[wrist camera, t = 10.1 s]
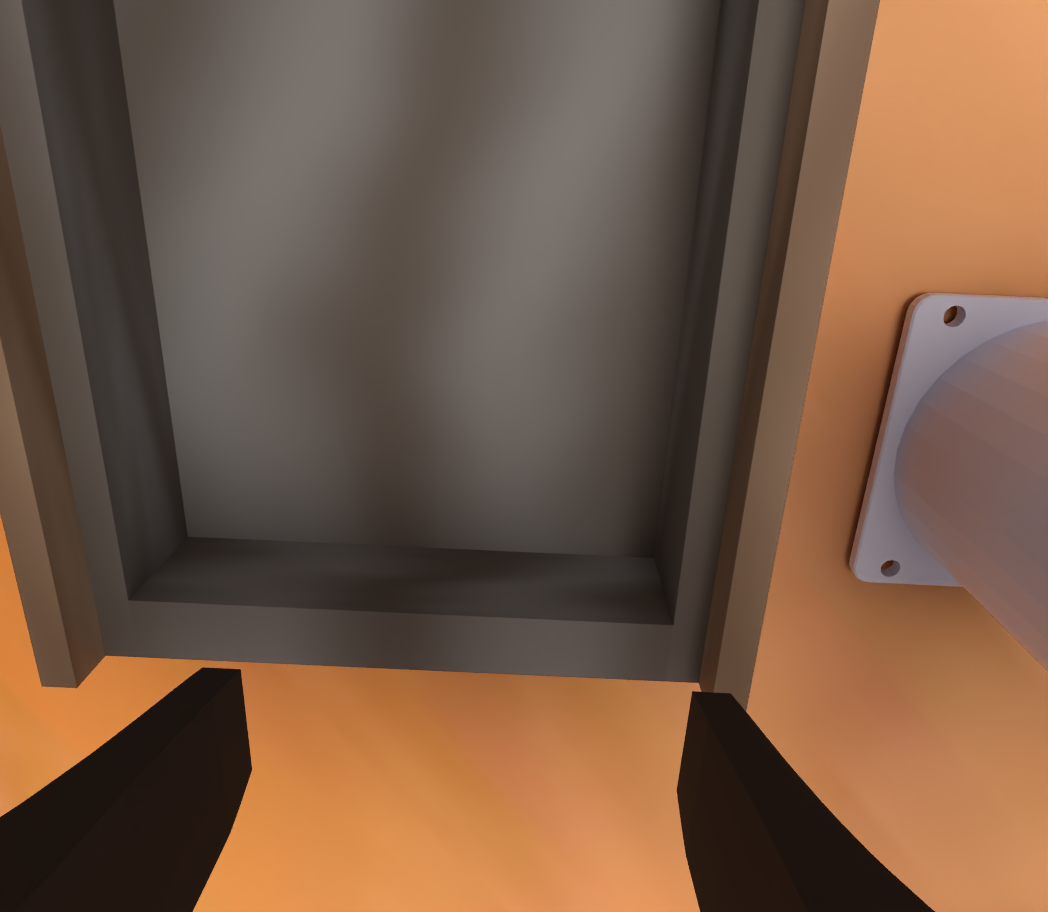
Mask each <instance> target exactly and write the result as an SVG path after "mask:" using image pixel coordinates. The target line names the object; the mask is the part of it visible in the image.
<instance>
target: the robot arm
mask: <svg viewBox="0 0 1048 912" xmlns="http://www.w3.org/2000/svg"><path fill="white" fill-rule="evenodd" d="M952 306H956V308H957V315H956V317H955V319H954V320H953V321H951V322H950V323H947V324H945V323H944V318H943V316H944V314H945V312H946V310H948V309H949V308H950V307H952ZM889 560H894V562H893V564H892V566H890V567H889V568H888V569H883V570H882V569H881V567H882V565H883V564H884V563H885V562H886V561H889ZM849 567H850V569H851V571H852V572H853V574H854V575H855V576H856V577H857V578H858V579H859V580H861V581H864V582H871V583H893V584H914V585H936V586H958V587H964V588H965V589H966V590H967V591H968V592H969V593H970V594H971V595H972V596H973V597H974V598H975V599H976V600H977V601H978V602H979V603H980V604H981V605H982V606H983V607H984V608H985V609H986V610H987V611H988V612H989V613H990V614H991V615H992V616H993V617H994V618H995V619H996V620H997V621H998V622H999V623H1000V624H1001V625H1002V626H1003V627H1004V628H1005V629H1006V630H1007V631H1008V632H1009V633H1010V634H1011V635H1012V636H1013V637H1014V638H1015V639H1016V640H1017V641H1018V642H1019V643H1020V644H1021V645H1022V646H1023V647H1024V648H1025V649H1026V650H1027V651H1028V652H1029V653H1030V654H1031V655H1032V656H1033V657H1034V658H1035V659H1036V660H1037V661H1038V662H1039V663H1040V664H1041V665H1042V666H1043V667H1044V668H1045V669H1046V670H1047V671H1048V298H1046V297H1024V296H1002V295H980V294H958V293H935V292H931V293H924V294H922V295H920V296H918V297H916V298H915V299H914V300H913V302H912V303H911V304H910V306H909V308H908V310H907V313H906V317H905V322H904V326H903V330H902V335H901V339H900V343H899V348H898V352H897V356H896V361H895V365H894V369H893V374H892V378H891V382H890V387H889V391H888V395H887V400H886V404H885V409H884V413H883V417H882V422H881V426H880V430H879V435H878V439H877V443H876V448H875V452H874V456H873V461H872V465H871V469H870V474H869V478H868V482H867V487H866V491H865V495H864V500H863V504H862V508H861V513H860V517H859V521H858V526H857V530H856V534H855V539H854V543H853V547H852V552H851V556H850V560H849ZM251 771H252V765H251V756H250V747H249V739H248V730H247V721H246V712H245V704H244V695H243V686H242V678H241V669H222V668H201V669H200V670H199V671H197V672H196V673H195V674H193V675H192V676H191V677H189V678H188V679H187V680H185V681H184V682H183V683H182V684H180V685H179V686H178V687H176V688H175V689H174V690H173V691H171V692H170V693H169V694H168V695H166V696H165V697H164V698H163V699H161V700H160V701H159V702H157V703H156V704H155V705H154V706H152V707H151V708H150V709H149V710H147V711H146V712H145V713H144V714H142V715H141V716H140V717H138V718H137V719H136V720H135V721H133V722H132V723H131V724H129V725H128V726H127V727H126V728H124V729H123V730H122V731H120V732H119V733H118V734H116V735H115V736H114V737H112V738H111V739H110V740H109V741H107V742H106V743H105V744H103V745H102V746H101V747H99V748H98V749H97V750H96V751H94V752H93V753H92V754H90V755H89V756H88V757H86V758H85V759H83V760H82V761H80V762H79V763H78V764H76V765H75V766H73V767H72V768H71V769H69V770H68V771H66V772H65V773H64V774H62V775H61V776H59V777H58V778H57V779H55V780H54V781H52V782H51V783H49V784H48V785H47V786H45V787H44V788H42V789H41V790H40V791H38V792H37V793H35V794H34V795H33V796H31V797H30V798H28V799H27V800H25V801H24V802H23V803H21V804H20V805H18V806H17V807H15V808H13V809H12V810H10V811H9V812H7V813H6V814H4V815H3V816H1V817H0V912H193V909H194V907H195V905H196V903H197V901H198V899H199V897H200V895H201V893H202V891H203V889H204V887H205V885H206V883H207V881H208V879H209V877H210V874H211V872H212V870H213V868H214V866H215V864H216V862H217V860H218V858H219V856H220V854H221V852H222V849H223V847H224V845H225V843H226V841H227V839H228V837H229V834H230V832H231V829H232V827H233V824H234V821H235V818H236V815H237V813H238V810H239V807H240V804H241V801H242V798H243V795H244V792H245V789H246V786H247V783H248V780H249V777H250V774H251ZM677 795H678V803H679V810H680V818H681V825H682V832H683V839H684V845H685V852H686V857H687V861H688V865H689V869H690V873H691V877H692V881H693V885H694V889H695V893H696V897H697V901H698V905H699V908H700V912H935V911H933V910H932V909H931V908H930V907H929V906H928V905H927V904H925V903H924V902H923V901H922V900H921V899H920V898H919V897H918V896H917V895H916V894H914V893H913V892H912V891H911V890H910V889H909V888H908V887H907V886H906V885H904V884H903V883H902V882H901V881H900V880H899V879H898V878H897V877H896V876H894V875H893V874H892V873H891V872H890V871H889V870H888V869H887V868H886V867H885V866H884V865H883V864H882V863H881V862H879V861H878V860H877V859H876V858H875V857H874V856H873V855H872V854H871V853H870V852H869V851H868V850H867V849H866V848H865V847H864V846H863V845H862V844H861V843H860V842H859V841H858V840H857V839H856V838H855V837H854V836H853V835H852V834H851V833H850V832H849V830H848V829H847V828H846V827H845V826H844V825H843V824H842V823H841V822H840V821H839V820H838V819H837V818H836V817H835V816H834V815H833V814H832V813H831V811H830V810H829V809H828V808H827V807H826V806H825V805H824V804H823V803H822V802H821V800H820V799H819V798H818V797H817V796H816V795H815V794H814V793H813V791H812V790H811V789H810V788H809V787H808V786H807V785H806V783H805V782H804V781H803V780H802V779H801V778H800V777H799V775H798V774H797V773H796V772H795V771H794V770H793V768H792V767H791V766H790V765H789V764H788V763H787V761H786V760H785V759H784V758H783V757H782V755H781V754H780V753H779V752H778V751H777V749H776V748H775V747H774V746H773V744H772V743H771V742H770V741H769V740H768V738H767V737H766V736H765V735H764V733H763V732H762V731H761V730H760V728H759V727H758V726H757V725H756V723H755V722H754V721H753V720H752V719H751V717H750V716H749V715H748V714H747V712H746V711H745V710H744V709H743V707H742V706H741V705H740V704H739V702H738V701H737V700H736V699H735V698H734V697H733V695H732V694H731V693H714V692H694V691H692V697H691V703H690V710H689V716H688V722H687V729H686V735H685V741H684V748H683V754H682V760H681V767H680V773H679V780H678V786H677Z"/></svg>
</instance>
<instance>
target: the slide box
mask: <svg viewBox="0 0 1048 912" xmlns="http://www.w3.org/2000/svg"><path fill="white" fill-rule="evenodd" d="M879 3H880V0H0V514H1V518H2V522H3V526H4V530H5V535H6V539H7V543H8V547H9V551H10V556H11V560H12V564H13V568H14V572H15V576H16V581H17V585H18V589H19V593H20V597H21V601H22V606H23V610H24V614H25V618H26V622H27V626H28V631H29V635H30V639H31V643H32V647H33V651H34V656H35V660H36V664H37V668H38V672H39V677H40V681H41V685H42V686H45V687H66V688H77V687H78V686H79V685H80V684H81V683H82V682H83V681H84V679H85V678H86V677H87V676H88V675H89V674H90V673H91V671H92V670H93V669H94V668H95V667H96V666H97V665H98V663H99V662H100V661H101V660H102V659H103V658H104V657H105V656H127V657H149V658H170V659H192V660H214V661H236V662H257V663H279V664H301V665H322V666H344V667H366V668H388V669H409V670H431V671H453V672H474V673H496V674H518V675H540V676H561V677H583V678H605V679H627V680H648V681H670V682H692V683H699V685H700V688H701V691H702V692H714V693H731V694H732V695H733V697H734V698H735V699H736V700H737V701H738V702H739V704H740V705H741V706H742V707H743V709H744V710H745V711H746V709H747V703H748V698H749V693H750V688H751V682H752V677H753V672H754V666H755V661H756V656H757V650H758V645H759V640H760V634H761V629H762V624H763V619H764V613H765V608H766V603H767V597H768V592H769V587H770V581H771V576H772V571H773V565H774V560H775V555H776V549H777V544H778V539H779V534H780V528H781V523H782V518H783V512H784V507H785V502H786V496H787V491H788V486H789V480H790V475H791V470H792V465H793V459H794V454H795V449H796V443H797V438H798V433H799V427H800V422H801V417H802V411H803V406H804V401H805V395H806V390H807V385H808V380H809V374H810V369H811V364H812V358H813V353H814V348H815V342H816V337H817V332H818V326H819V321H820V316H821V311H822V305H823V300H824V295H825V289H826V284H827V279H828V273H829V268H830V263H831V257H832V252H833V247H834V241H835V236H836V231H837V226H838V220H839V215H840V210H841V204H842V199H843V194H844V188H845V183H846V178H847V172H848V167H849V162H850V157H851V151H852V146H853V141H854V135H855V130H856V125H857V119H858V114H859V109H860V103H861V98H862V93H863V87H864V82H865V77H866V72H867V66H868V61H869V56H870V50H871V45H872V40H873V34H874V29H875V24H876V18H877V13H878V8H879Z"/></svg>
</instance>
